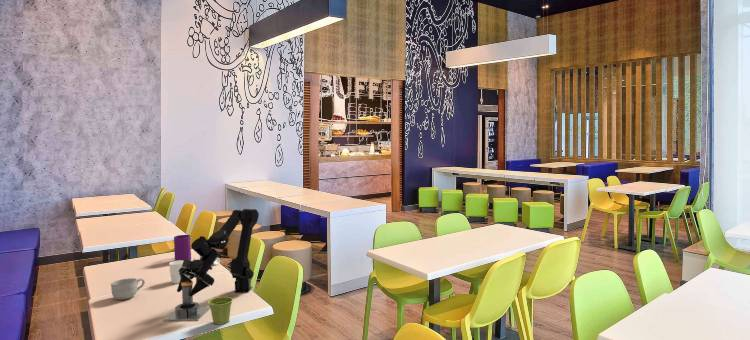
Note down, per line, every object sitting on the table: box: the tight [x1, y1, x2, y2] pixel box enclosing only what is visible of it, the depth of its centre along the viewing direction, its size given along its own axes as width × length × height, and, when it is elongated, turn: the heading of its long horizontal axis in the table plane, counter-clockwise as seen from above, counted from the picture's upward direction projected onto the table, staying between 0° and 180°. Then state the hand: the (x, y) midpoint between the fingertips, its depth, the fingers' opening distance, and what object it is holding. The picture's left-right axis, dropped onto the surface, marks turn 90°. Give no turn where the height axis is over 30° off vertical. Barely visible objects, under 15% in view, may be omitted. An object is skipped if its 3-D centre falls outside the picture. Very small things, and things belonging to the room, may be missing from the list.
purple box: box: [173, 234, 192, 261], centre depth 284 cm, size 9×16×15 cm, turn 34°
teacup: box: [110, 277, 146, 301], centre depth 219 cm, size 14×11×8 cm
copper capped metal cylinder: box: [181, 280, 194, 309], centre depth 196 cm, size 4×4×13 cm
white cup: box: [168, 260, 183, 284], centre depth 241 cm, size 8×8×10 cm
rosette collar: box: [162, 301, 211, 322], centre depth 197 cm, size 14×14×4 cm
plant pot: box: [207, 296, 234, 325], centre depth 188 cm, size 9×9×9 cm
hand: (183, 293), depth 195 cm, fingers open, 9 cm apart
